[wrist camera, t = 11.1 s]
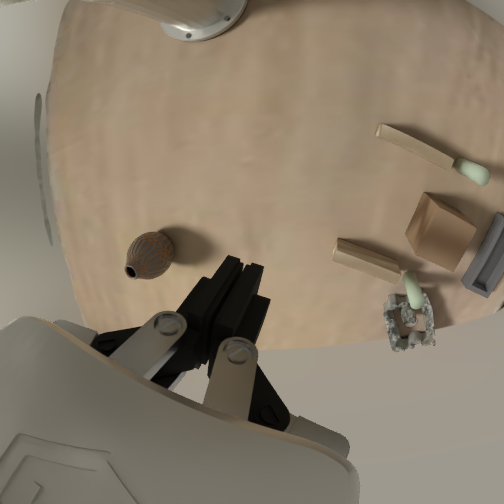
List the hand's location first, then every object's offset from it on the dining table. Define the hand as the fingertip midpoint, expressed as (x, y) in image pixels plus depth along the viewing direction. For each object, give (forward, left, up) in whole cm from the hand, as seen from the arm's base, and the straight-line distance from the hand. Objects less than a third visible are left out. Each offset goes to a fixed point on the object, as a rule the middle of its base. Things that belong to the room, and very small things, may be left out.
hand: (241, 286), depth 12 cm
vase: (+17, -18, -23) cm, 34 cm away
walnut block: (-1, +18, -23) cm, 29 cm away
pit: (-1, +30, -23) cm, 38 cm away
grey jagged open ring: (+14, +22, -23) cm, 35 cm away
